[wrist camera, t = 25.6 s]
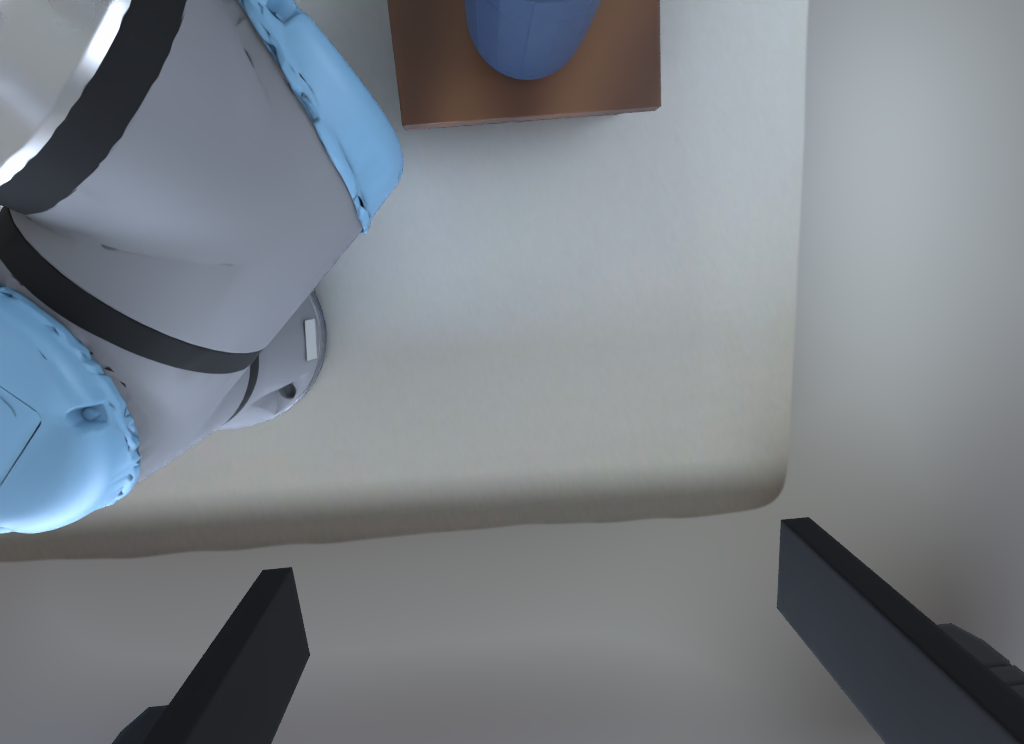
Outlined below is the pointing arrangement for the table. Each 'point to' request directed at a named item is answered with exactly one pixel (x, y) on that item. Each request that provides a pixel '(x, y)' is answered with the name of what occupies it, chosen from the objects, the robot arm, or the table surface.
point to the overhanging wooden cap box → (498, 98)
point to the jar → (528, 33)
